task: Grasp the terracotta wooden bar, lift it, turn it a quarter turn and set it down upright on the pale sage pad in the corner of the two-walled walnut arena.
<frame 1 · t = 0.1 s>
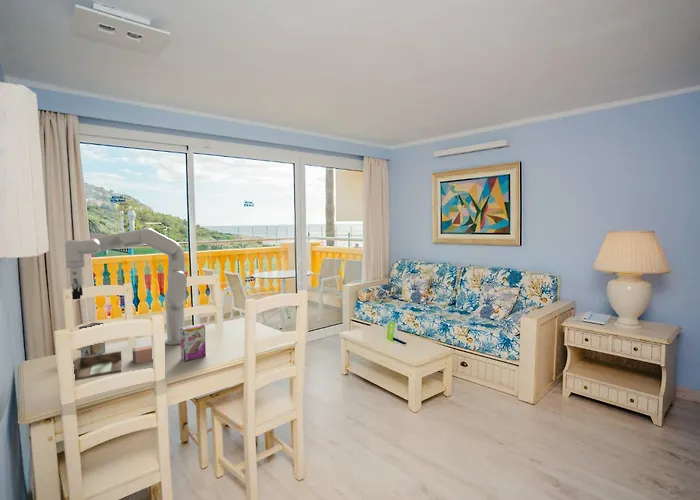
hand: (77, 297, 192), 31 cm above the table, tool pointing down, fingers open, 9 cm apart
candy bar box: (193, 358, 192), on the table
arena: (99, 369, 177), on the table
bar: (144, 359, 190), on the table
coffee box: (93, 354, 197), on the table
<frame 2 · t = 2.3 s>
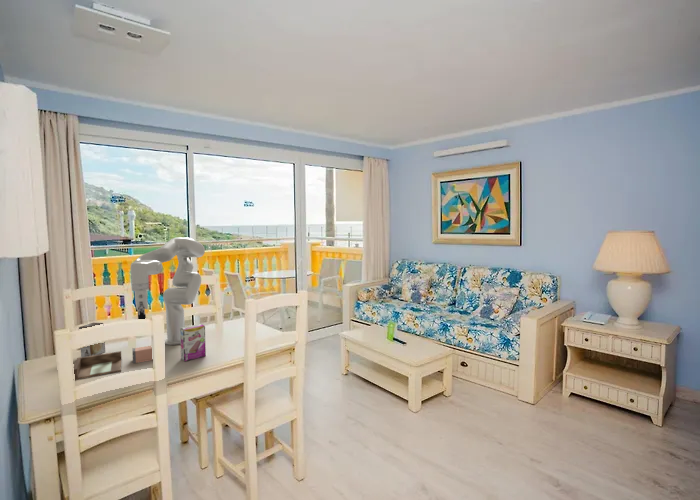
hand: (141, 320, 187), 20 cm above the table, tool pointing down, fingers open, 9 cm apart
nothing on the table moved.
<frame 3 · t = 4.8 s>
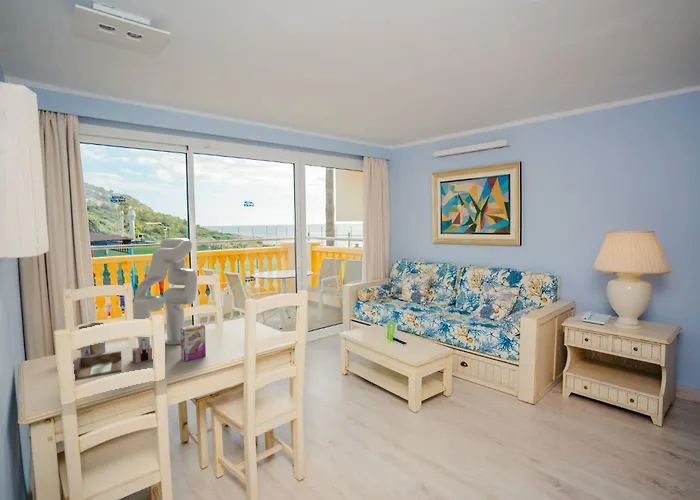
hand: (144, 358, 189), 1 cm above the table, tool pointing down, fingers closed on bar, 5 cm apart
bar: (144, 359, 190), on the table, touching gripper
everything else where it was.
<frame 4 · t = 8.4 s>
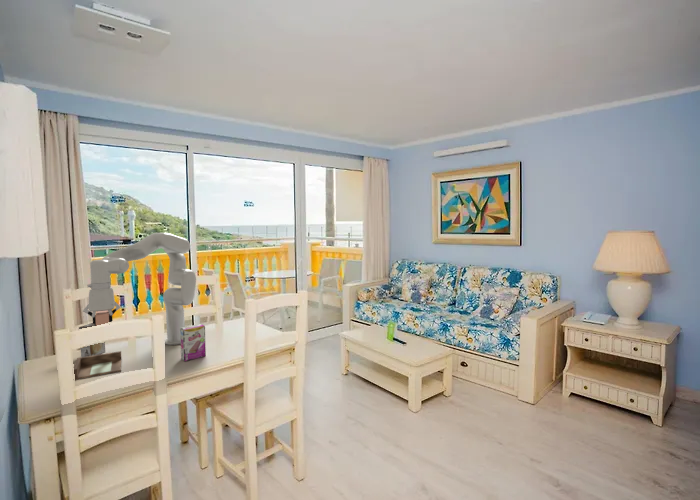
hand: (102, 323, 176), 22 cm above the table, tool pointing down, fingers closed on bar, 5 cm apart
bar: (103, 325, 176), point 21 cm above the table, touching gripper
everything else where it was.
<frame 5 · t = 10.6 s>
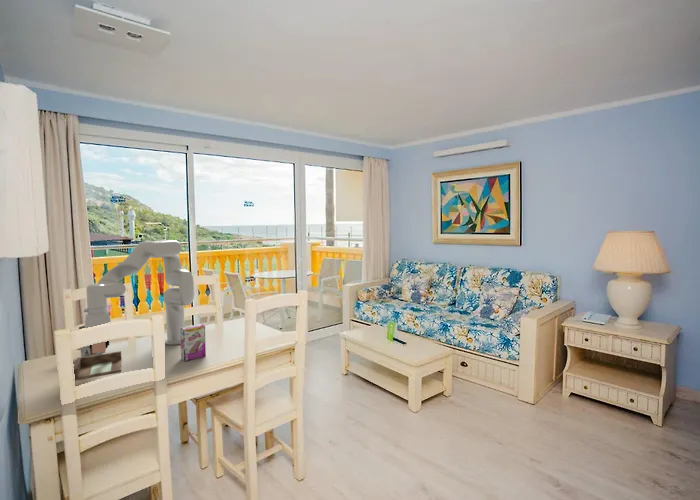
hand: (99, 347, 176), 11 cm above the table, tool pointing down, fingers closed on bar, 5 cm apart
bar: (99, 349, 176), point 10 cm above the table, touching gripper
everything else where it was.
when the fingers open (3 cm above the table, at t = 12.5 s): bar drops 1 cm, resting on arena.
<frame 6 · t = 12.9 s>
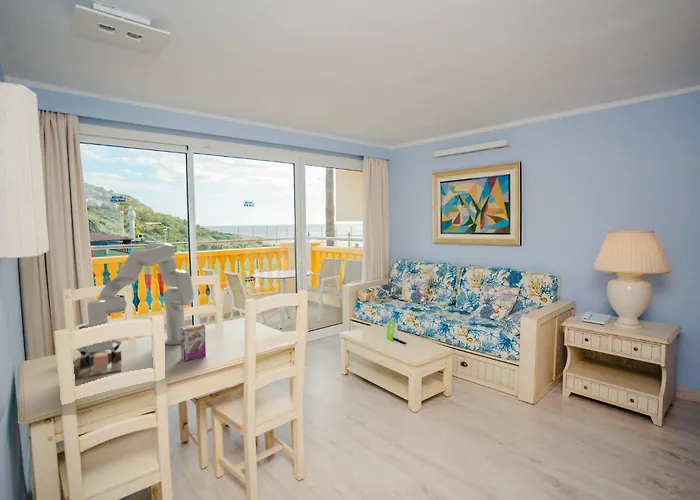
hand: (100, 361, 177), 4 cm above the table, tool pointing down, fingers open, 9 cm apart
bar: (101, 367, 177), point 1 cm above the table, touching arena
everything else where it was.
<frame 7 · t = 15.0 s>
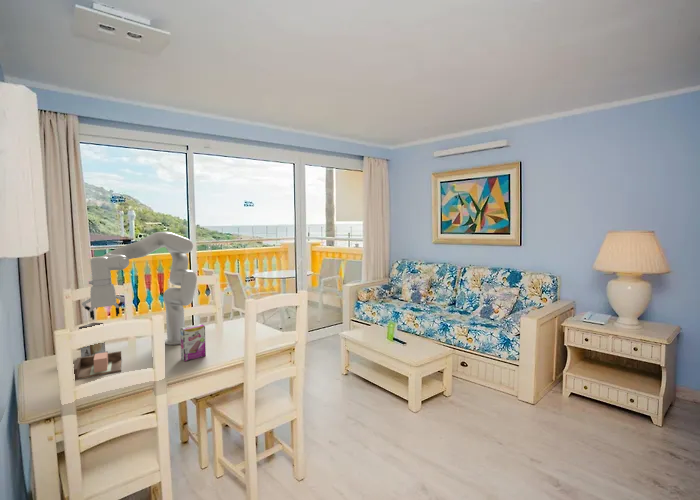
hand: (105, 317, 180), 24 cm above the table, tool pointing down, fingers open, 9 cm apart
nothing on the table moved.
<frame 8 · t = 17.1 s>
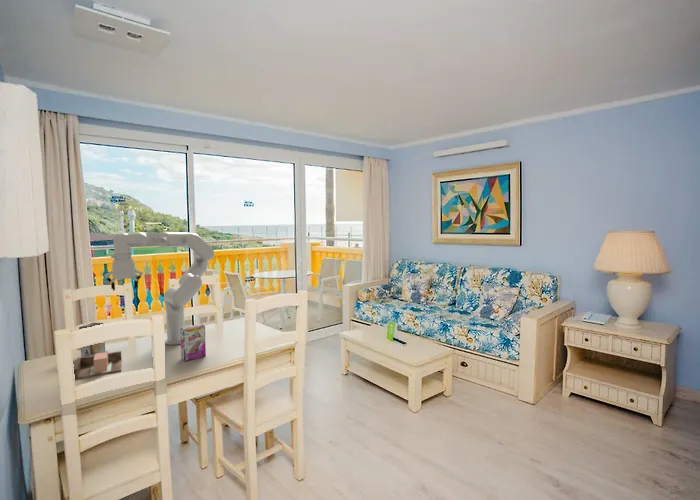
hand: (124, 289, 197), 34 cm above the table, tool pointing down, fingers open, 9 cm apart
nothing on the table moved.
at the end: bar 0.1 cm from the target spot on the arena, point 1.0 cm above the arena's base; bar tilted 0°; the gripper is holding nothing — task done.
